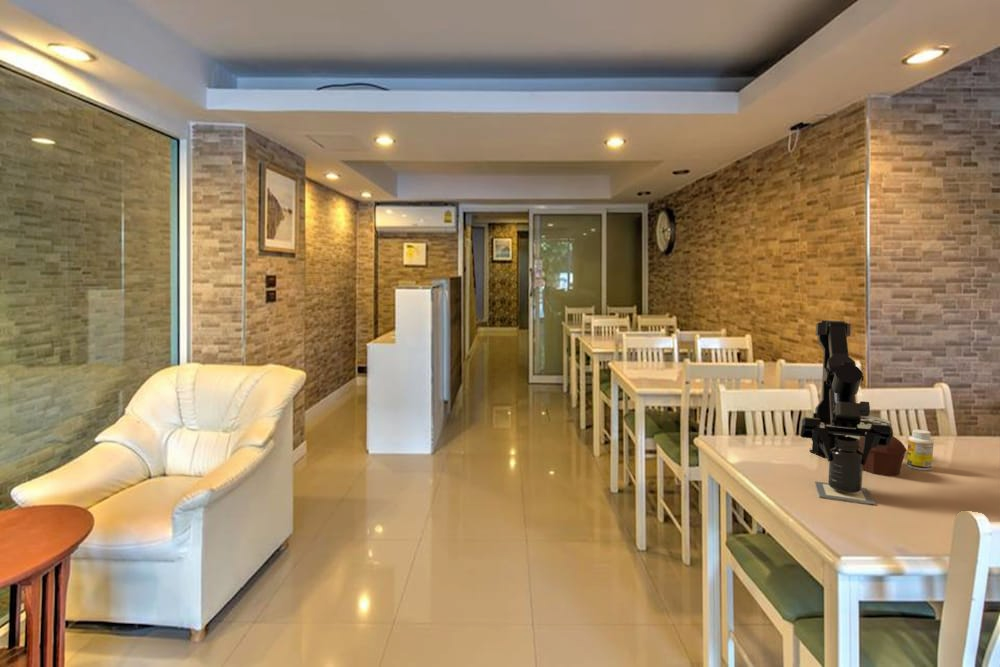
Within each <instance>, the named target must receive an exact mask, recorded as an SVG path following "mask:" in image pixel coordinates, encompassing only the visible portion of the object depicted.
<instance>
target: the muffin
mask: <svg viewBox="0 0 1000 667" xmlns="http://www.w3.org/2000/svg"><path fill="white" fill-rule="evenodd" d="M863 441H864V437H861V438H860V439H859V448H858V450H859V451H860V452H861V453H862V444H863ZM907 451H908V449H907V448H906V446H905V445H904V443H903V442H902V441H901V440H900V439H898V438H896V436H894V435H892V438H891V440H890V443H889V445H888V446H877V447H876V448H871V450H870V452H869V453H868V456H867V459H866V463H865V465H863V472H865V471H866V473H869V474H871V475H876V474H877V475H878V476H884V477H896V476H897V475H899V474H900V472H901V469H902V468H901V467H902V465H903V461H904V457H905V454H906V453H907Z"/></svg>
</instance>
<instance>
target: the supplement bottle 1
mask: <svg viewBox="0 0 1000 667" xmlns="http://www.w3.org/2000/svg"><path fill="white" fill-rule="evenodd" d="M835 445H836V447H834V448H833V449H831V461H828V462H829V463H828V481H827V483H828V484H829V486H830V487H831V488H833V489H835V490H838V491H842V492H849V493H855V492H859V491H860V490H861V488H863V487H862V485H863V473H864V471H863V454H862V453H861V452H860V451H859V450H858V448H859V440H858V439H856V438H853V437H848V435H847V436H838V437H836V439H835Z"/></svg>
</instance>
